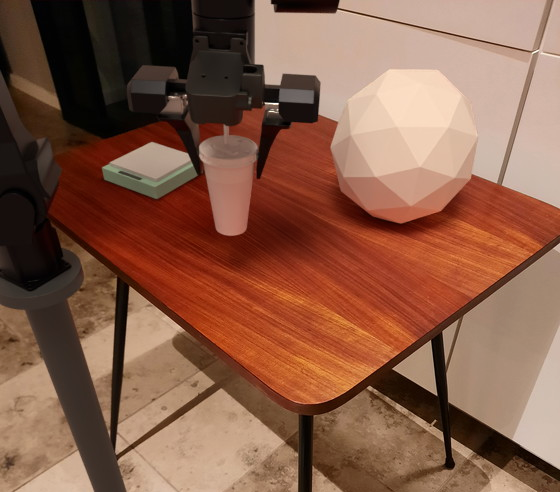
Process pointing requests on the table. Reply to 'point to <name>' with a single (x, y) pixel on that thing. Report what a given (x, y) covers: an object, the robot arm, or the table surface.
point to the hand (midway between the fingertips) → (229, 175)
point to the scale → (151, 170)
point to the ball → (405, 144)
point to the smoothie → (229, 179)
